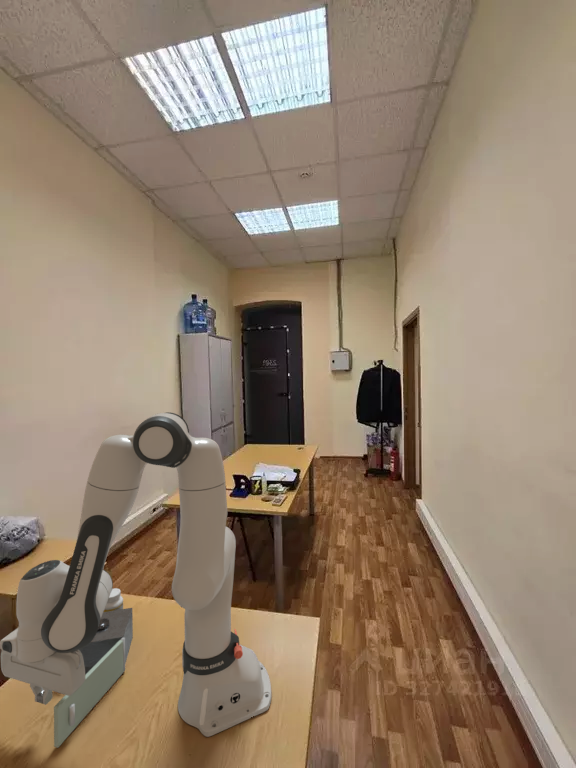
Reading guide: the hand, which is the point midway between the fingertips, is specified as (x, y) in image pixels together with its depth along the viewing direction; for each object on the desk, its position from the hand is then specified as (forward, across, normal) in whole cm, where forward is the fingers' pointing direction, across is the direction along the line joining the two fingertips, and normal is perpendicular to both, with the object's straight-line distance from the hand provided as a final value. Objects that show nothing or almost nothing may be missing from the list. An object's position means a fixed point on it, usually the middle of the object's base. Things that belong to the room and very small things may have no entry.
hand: (43, 700), depth 75 cm
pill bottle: (+7, +10, -30) cm, 33 cm away
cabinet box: (+7, +4, -20) cm, 21 cm away
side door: (+7, -6, -8) cm, 12 cm away
